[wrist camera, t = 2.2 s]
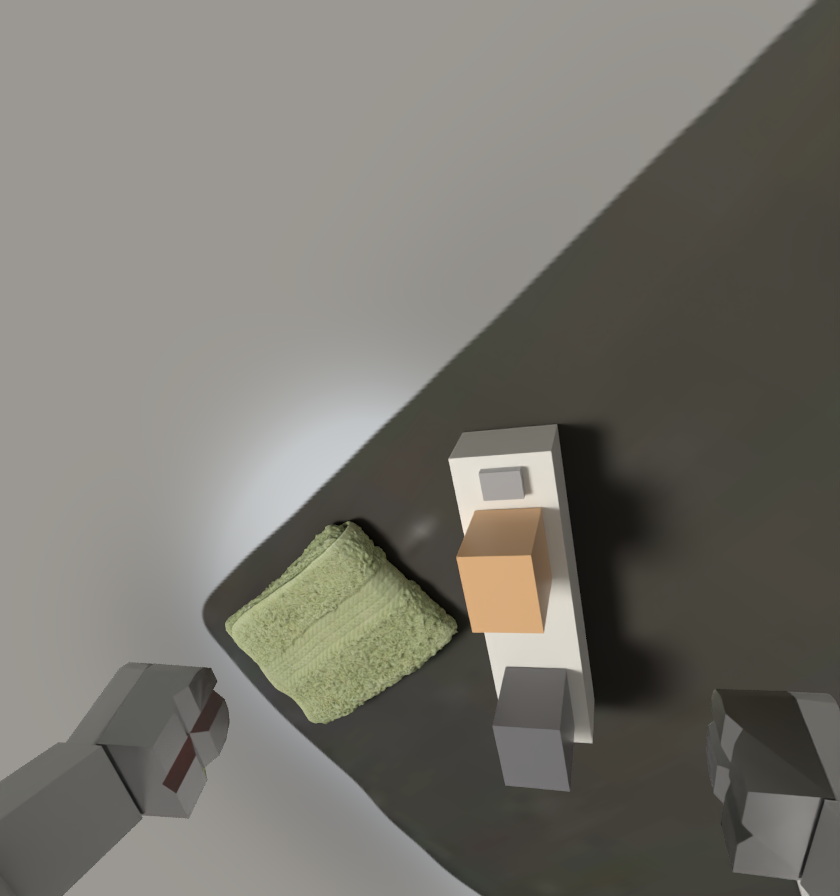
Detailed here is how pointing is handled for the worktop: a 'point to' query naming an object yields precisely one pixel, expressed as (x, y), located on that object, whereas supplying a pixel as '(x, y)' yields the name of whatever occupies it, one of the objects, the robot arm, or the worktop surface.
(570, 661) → the power strip
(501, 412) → the worktop surface
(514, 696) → the block
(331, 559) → the washcloth
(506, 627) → the orange charger
